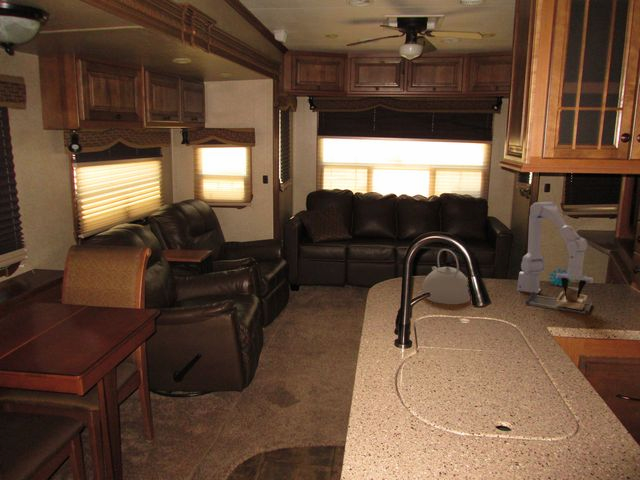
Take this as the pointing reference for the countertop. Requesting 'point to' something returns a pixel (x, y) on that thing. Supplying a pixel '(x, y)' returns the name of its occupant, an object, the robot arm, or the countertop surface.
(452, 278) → the kettle
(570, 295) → the part block
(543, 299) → the rail base
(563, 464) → the countertop surface
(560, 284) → the gear
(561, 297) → the shallow wooden tray
